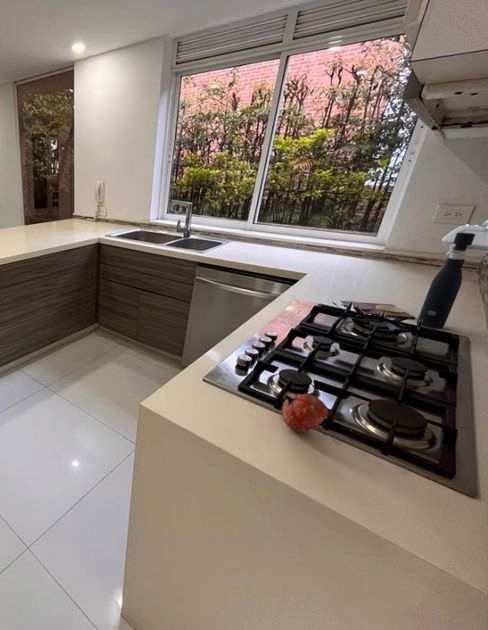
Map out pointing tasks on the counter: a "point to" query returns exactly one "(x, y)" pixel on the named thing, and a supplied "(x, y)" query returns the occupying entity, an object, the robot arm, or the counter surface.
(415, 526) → the counter surface
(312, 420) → the pomegranate
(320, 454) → the counter surface
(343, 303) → the plum plate
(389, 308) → the placemat
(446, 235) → the robot arm
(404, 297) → the counter surface
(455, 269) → the dark water bottle
